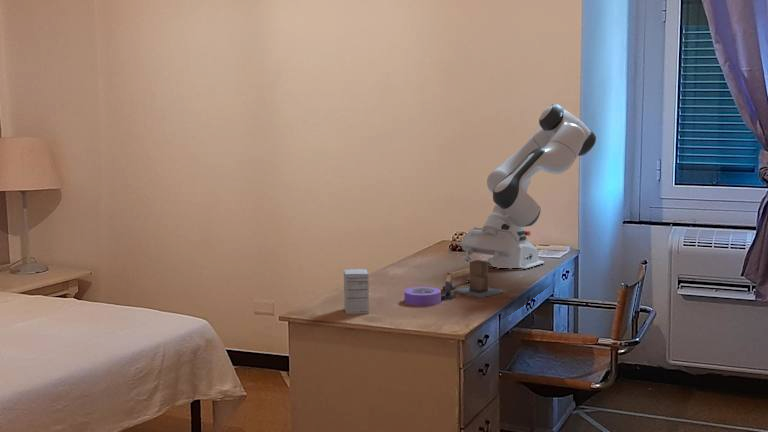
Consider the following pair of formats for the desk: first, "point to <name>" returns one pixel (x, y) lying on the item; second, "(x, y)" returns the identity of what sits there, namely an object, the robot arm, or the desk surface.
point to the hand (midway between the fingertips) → (478, 262)
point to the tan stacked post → (478, 276)
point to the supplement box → (356, 291)
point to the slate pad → (478, 295)
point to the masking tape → (422, 296)
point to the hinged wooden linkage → (448, 283)
